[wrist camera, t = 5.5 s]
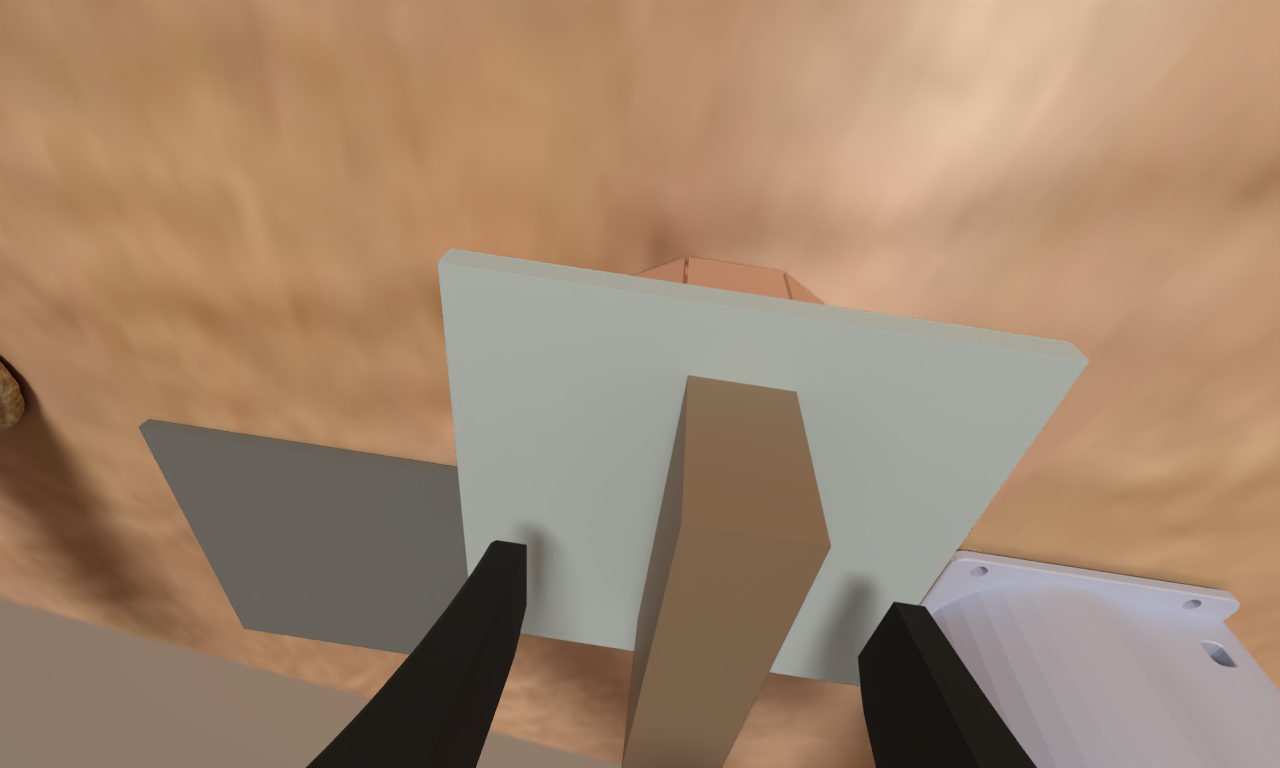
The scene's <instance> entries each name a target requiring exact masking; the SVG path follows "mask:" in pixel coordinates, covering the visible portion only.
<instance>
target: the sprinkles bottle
mask: <svg viewBox="0 0 1280 768" xmlns="http://www.w3.org/2000/svg"><path fill="white" fill-rule="evenodd" d="M24 405H25V402H24V399H23V397H22V395H21V393H20V387H19V384H18V383H17V382H16V380H15V379H14V378H13V377H12V376H11V374H10V373H9V371H8V370H7V369H6V368H5V367H4V365H3V364H2V363H1V362H0V432H2V431H5V430H7V429H8V428H9V427H11V426H13V425H14V424H16V423H17V422H18V421H19V419H20V418H21V415H22V414H23V413H24Z"/></svg>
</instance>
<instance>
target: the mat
mask: <svg viewBox="0 0 1280 768" xmlns="http://www.w3.org/2000/svg"><path fill="white" fill-rule="evenodd" d="M139 429H140V431H141V433H142V435H143V437H144V438H145V440H146V442H147V444H148V446H149V448H150V450H151V452H152V454H153V456H154V458H155V459H156V461H157V463H158V465H159V467H160V469H161V471H162V473H163V475H164V477H165V479H166V480H167V482H168V484H169V486H170V488H171V490H172V492H173V494H174V496H175V498H176V500H177V501H178V503H179V505H180V507H181V509H182V511H183V513H184V515H185V517H186V519H187V521H188V522H189V524H190V526H191V528H192V530H193V532H194V534H195V536H196V538H197V540H198V542H199V543H200V545H201V547H202V549H203V551H204V553H205V555H206V557H207V559H208V561H209V563H210V564H211V566H212V568H213V570H214V572H215V574H216V576H217V578H218V580H219V582H220V584H221V585H222V587H223V589H224V591H225V593H226V595H227V597H228V599H229V601H230V603H231V605H232V606H233V608H234V610H235V612H236V614H237V616H238V618H239V620H240V622H241V624H242V626H243V627H244V629H250V630H256V631H262V632H269V633H275V634H282V635H288V636H294V637H301V638H307V639H314V640H320V641H326V642H333V643H339V644H346V645H352V646H358V647H365V648H371V649H378V650H384V651H390V652H397V653H403V654H409V655H410V654H411V653H412V652H413V651H414V649H415V648H416V647H417V646H418V644H419V643H420V642H421V641H422V639H423V638H424V637H425V636H426V634H427V633H428V632H429V630H430V629H431V628H432V626H433V625H434V624H435V623H436V621H437V620H438V619H439V617H440V616H441V615H442V614H443V612H444V611H445V610H446V608H447V607H448V606H449V604H450V603H451V602H452V600H453V599H454V597H455V596H456V595H457V593H458V592H459V590H460V589H461V588H462V586H463V585H464V583H465V582H466V581H467V579H468V570H467V560H466V549H465V539H464V529H463V518H462V508H461V497H460V487H459V477H458V467H454V466H447V465H441V464H434V463H428V462H421V461H415V460H408V459H402V458H395V457H389V456H382V455H376V454H369V453H363V452H356V451H350V450H343V449H337V448H330V447H324V446H317V445H311V444H304V443H298V442H291V441H285V440H278V439H272V438H265V437H259V436H252V435H246V434H239V433H233V432H226V431H220V430H213V429H207V428H200V427H194V426H187V425H181V424H174V423H168V422H161V421H155V420H147V421H146V422H144V423H143V424H142V425H141V426H139Z"/></svg>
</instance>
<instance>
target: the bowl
mask: <svg viewBox="0 0 1280 768" xmlns="http://www.w3.org/2000/svg"><path fill="white" fill-rule="evenodd" d="M634 276H637V277H644V278H650V279H657V280H663V281H670V282H677V283H683V284H690V285H697V286H703V287H710V288H716V289H723V290H730V291H736V292H743V293H750V294H756V295H763V296H769V297H776V298H783V299H789V300H796V301H802V302H809V303H816V304H822V305H825V304H824V303H822V302H821V301H820V300H819V299H817V298H816V297H815V296H814V295H813V294H811V293H810V292H809V291H808V290H806V289H805V288H804V287H803V286H801V285H800V284H799V283H798V282H797V281H795V280H794V279H793V278H792V277H790V276H789V275H788V274H787V273H785V274H784V275H783V274H782V271H778V270H772V269H765V268H758V267H752V266H745V265H739V264H732V263H725V262H719V261H712V260H705V259H699V258H692V257H689V259H688V263H686V260H685V258H682V259H679V260H676V261H673V262H671V263H668V264H665V265H662V266H659V267H657V268H654V269H651V270H648V271H646V272H643V273H640V274H637V275H634Z"/></svg>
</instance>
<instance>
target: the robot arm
mask: <svg viewBox="0 0 1280 768" xmlns="http://www.w3.org/2000/svg"><path fill="white" fill-rule="evenodd" d="M526 607H527V545H525V544H519V543H513V542H506V541H500V540H495V541H493V542H491V543H490V545H489V546H488V548H487V550H486V551H485V553H484V555H483V556H482V558H481V559H480V561H479V563H478V564H477V566H476V567H475V569H474V570H473V572H472V573H471V575H470V576H469V578H468V579H467V581H466V582H465V583H464V585H463V586H462V588H461V589H460V590H459V592H458V593H457V595H456V596H455V597H454V599H453V600H452V602H451V603H450V604H449V606H448V607H447V608H446V610H445V611H444V612H443V614H442V615H441V616H440V617H439V619H438V620H437V621H436V623H435V624H434V625H433V626H432V628H431V629H430V630H429V632H428V633H427V634H426V636H425V637H424V638H423V639H422V641H421V642H420V643H419V644H418V646H417V647H416V648H415V649H414V651H413V652H412V653H411V654H410V655H409V656H408V658H407V659H406V660H405V661H404V662H403V664H402V665H401V666H400V667H399V668H398V669H397V671H396V672H395V673H394V674H393V675H392V676H391V678H390V679H389V680H388V681H387V682H386V683H385V685H384V686H383V687H382V688H381V689H380V690H379V692H378V693H377V694H376V695H375V696H374V697H373V698H372V699H371V700H370V702H369V703H368V704H367V705H366V706H365V707H364V708H363V709H362V710H361V711H360V713H359V714H358V715H357V716H356V717H355V718H354V719H353V720H352V721H351V722H350V723H349V724H348V726H346V727H345V729H344V730H343V731H342V732H341V733H340V734H339V735H338V736H337V737H336V738H335V739H334V740H333V741H332V742H331V743H330V744H329V745H328V746H327V747H326V748H325V749H324V750H323V751H322V752H321V753H320V754H319V755H318V756H317V757H316V758H315V759H314V760H313V761H312V762H311V763H310V764H309V765H308V766H307V767H306V768H476V766H477V762H478V760H479V757H480V754H481V751H482V748H483V746H484V743H485V740H486V737H487V734H488V731H489V729H490V726H491V723H492V720H493V717H494V714H495V711H496V709H497V706H498V703H499V700H500V697H501V694H502V691H503V688H504V686H505V683H506V680H507V677H508V674H509V671H510V668H511V665H512V662H513V659H514V656H515V652H516V648H517V644H518V640H519V636H520V632H521V627H522V623H523V619H524V615H525V611H526ZM1239 607H1240V603H1239V602H1238V600H1237V599H1236V598H1235V597H1234V596H1233V595H1232V594H1231V593H1230V592H1228V591H1224V590H1218V589H1211V588H1204V587H1198V586H1191V585H1185V584H1178V583H1172V582H1165V581H1159V580H1152V579H1146V578H1139V577H1133V576H1126V575H1120V574H1113V573H1107V572H1100V571H1094V570H1087V569H1081V568H1074V567H1068V566H1061V565H1055V564H1048V563H1042V562H1035V561H1029V560H1022V559H1016V558H1009V557H1003V556H996V555H990V554H983V553H977V552H970V551H956V552H955V553H954V555H953V556H952V558H951V559H950V560H949V562H948V563H947V565H946V566H945V568H944V569H943V570H942V572H941V573H940V575H939V576H938V578H937V579H936V580H935V582H934V583H933V585H932V586H931V588H930V589H929V590H928V592H927V593H926V595H925V596H924V598H923V599H922V600H921V602H920V603H919V605H914V604H907V603H901V602H893V604H892V605H891V607H890V608H889V610H888V611H887V613H886V614H885V616H884V617H883V619H882V620H881V622H880V623H879V625H878V626H877V628H876V630H875V631H874V633H873V634H872V636H871V637H870V639H869V640H868V642H867V643H866V645H865V646H864V648H863V649H862V651H861V653H860V654H859V656H858V666H859V676H860V686H861V694H862V702H863V710H864V716H865V721H866V725H867V730H868V734H869V738H870V743H871V747H872V752H873V756H874V760H875V765H876V768H1280V690H1279V689H1278V688H1277V687H1276V685H1275V684H1274V683H1273V682H1272V681H1271V679H1270V678H1269V677H1268V676H1267V674H1266V673H1265V672H1264V671H1263V669H1262V668H1261V667H1260V666H1259V665H1258V663H1257V662H1256V661H1255V660H1254V658H1253V657H1252V656H1251V655H1250V653H1249V652H1248V651H1247V650H1246V649H1245V647H1244V646H1243V645H1242V644H1241V642H1240V641H1239V640H1238V639H1237V637H1236V636H1235V635H1234V634H1233V633H1232V631H1231V630H1230V629H1229V628H1228V626H1227V625H1226V624H1225V623H1224V620H1226V619H1227V618H1228V617H1229V616H1231V615H1232V614H1233V613H1235V612H1236V611H1237V610H1238V609H1239Z"/></svg>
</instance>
